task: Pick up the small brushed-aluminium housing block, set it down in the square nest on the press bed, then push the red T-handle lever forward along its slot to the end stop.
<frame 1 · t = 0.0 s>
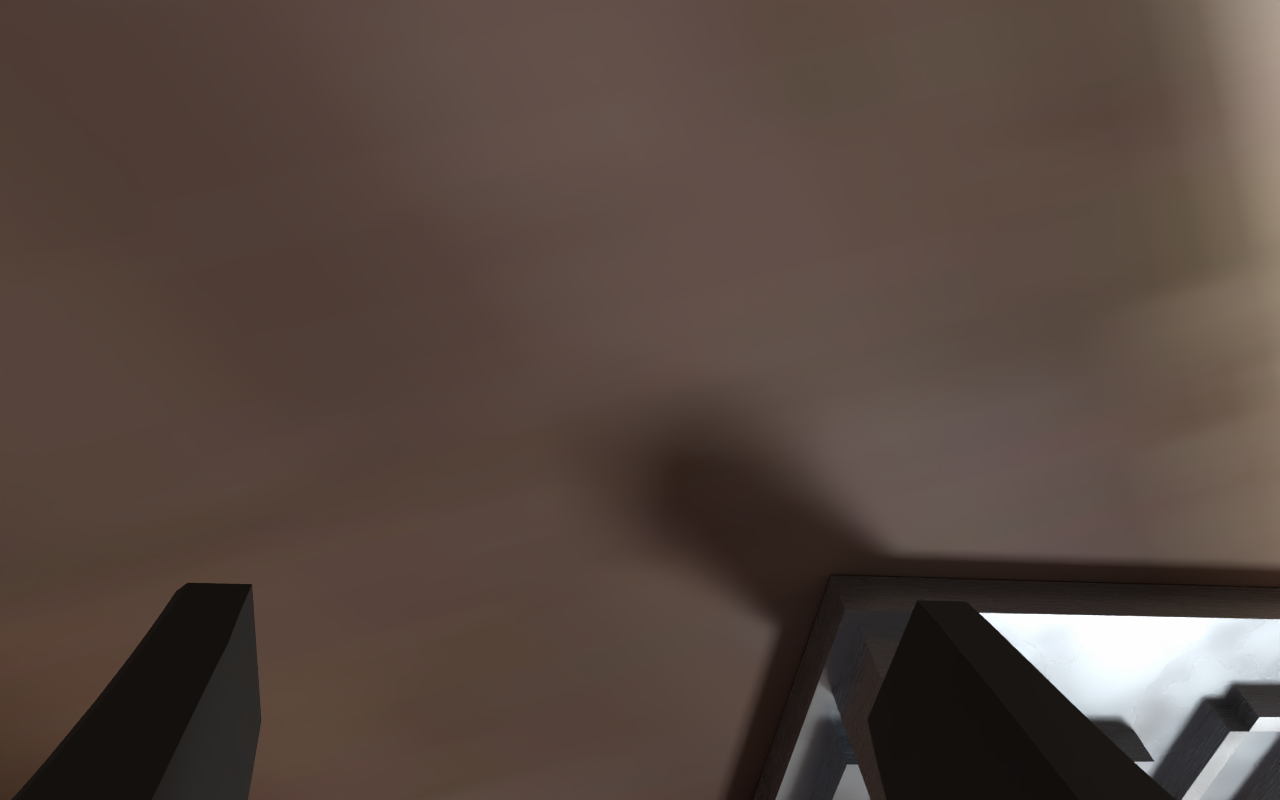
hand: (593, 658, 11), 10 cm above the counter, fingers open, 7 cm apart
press: (1020, 753, 30), on the counter
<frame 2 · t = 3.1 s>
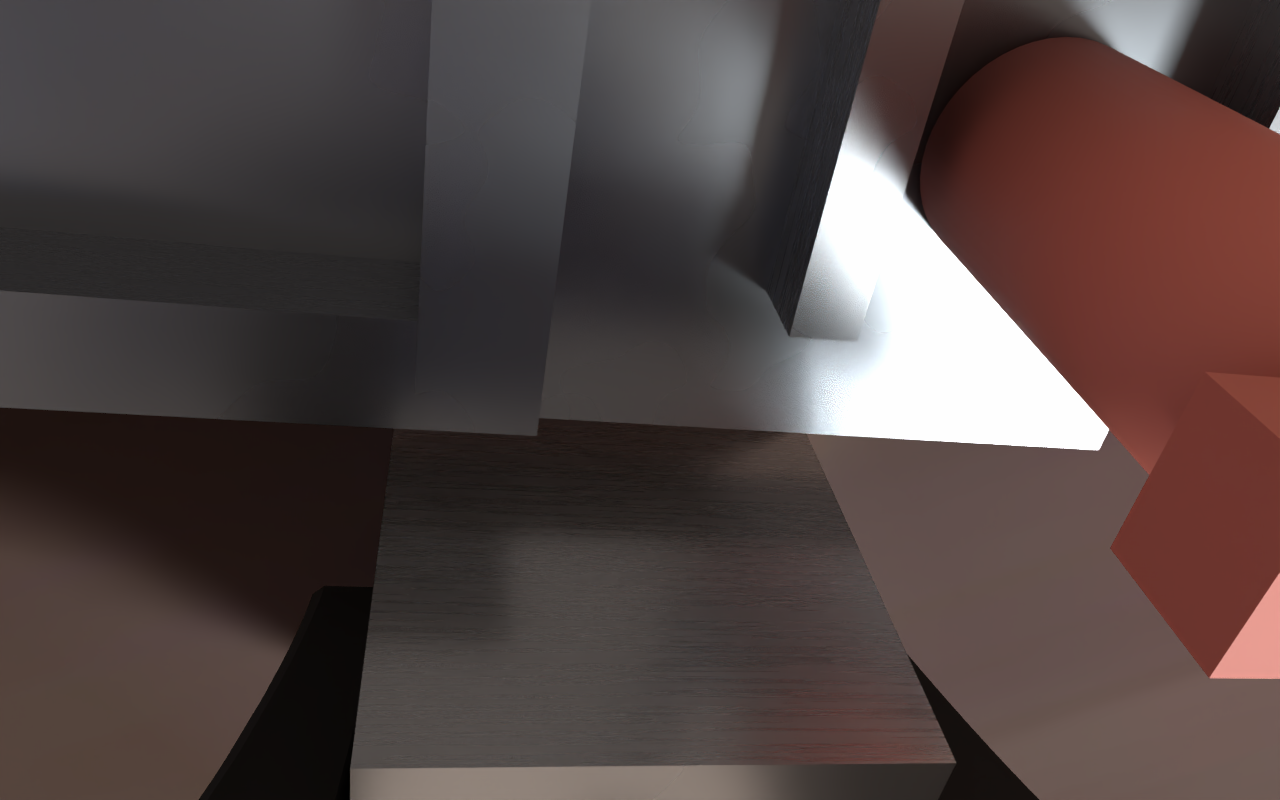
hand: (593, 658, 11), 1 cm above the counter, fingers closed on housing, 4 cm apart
lever: (1221, 304, 6), point 4 cm above the counter, slide at 0.0 cm
housing: (582, 568, 12), on the counter, touching gripper
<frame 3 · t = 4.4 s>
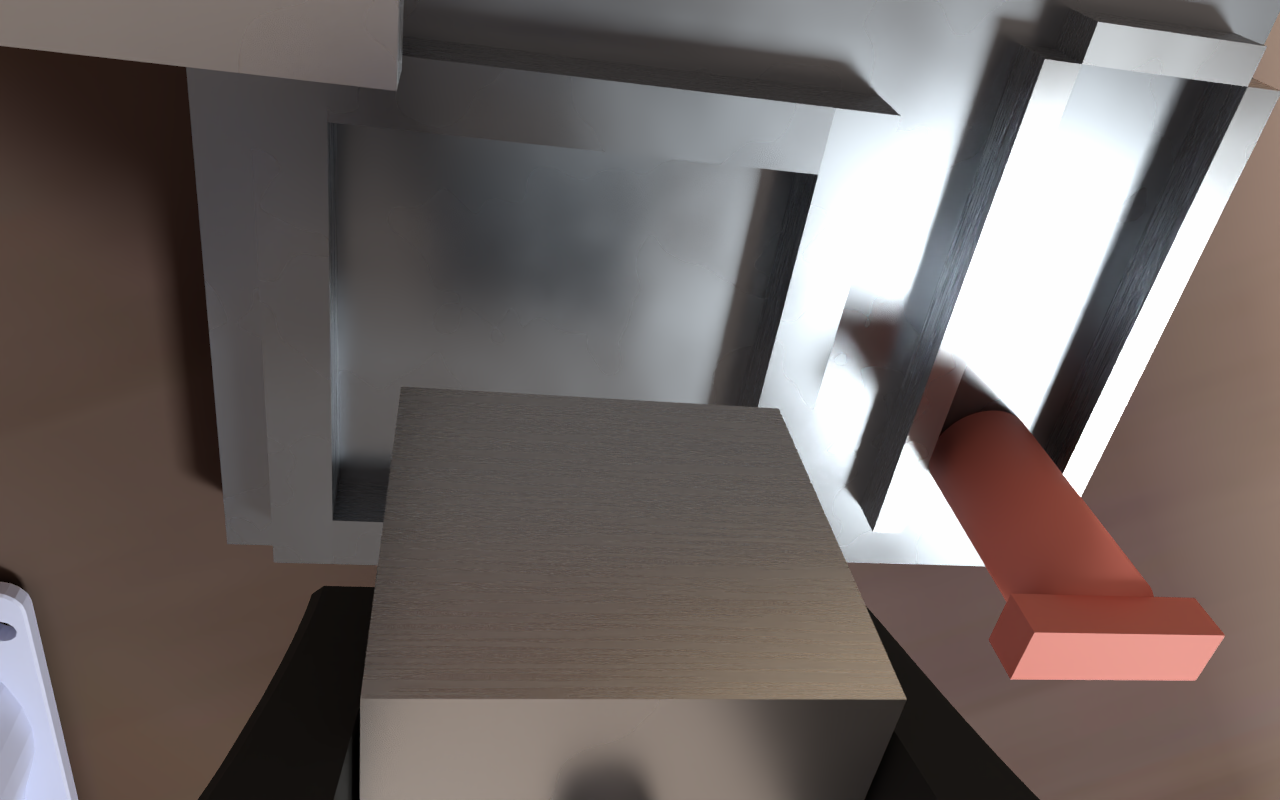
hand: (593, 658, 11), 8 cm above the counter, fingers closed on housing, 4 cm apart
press: (706, 204, 17), on the counter
lever: (1040, 542, 17), point 4 cm above the counter, slide at 0.0 cm
housing: (574, 543, 13), point 6 cm above the counter, touching gripper
when the fingers open (4 cm above the counter, at t = 5.7 s): housing stays where it is, resting on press.
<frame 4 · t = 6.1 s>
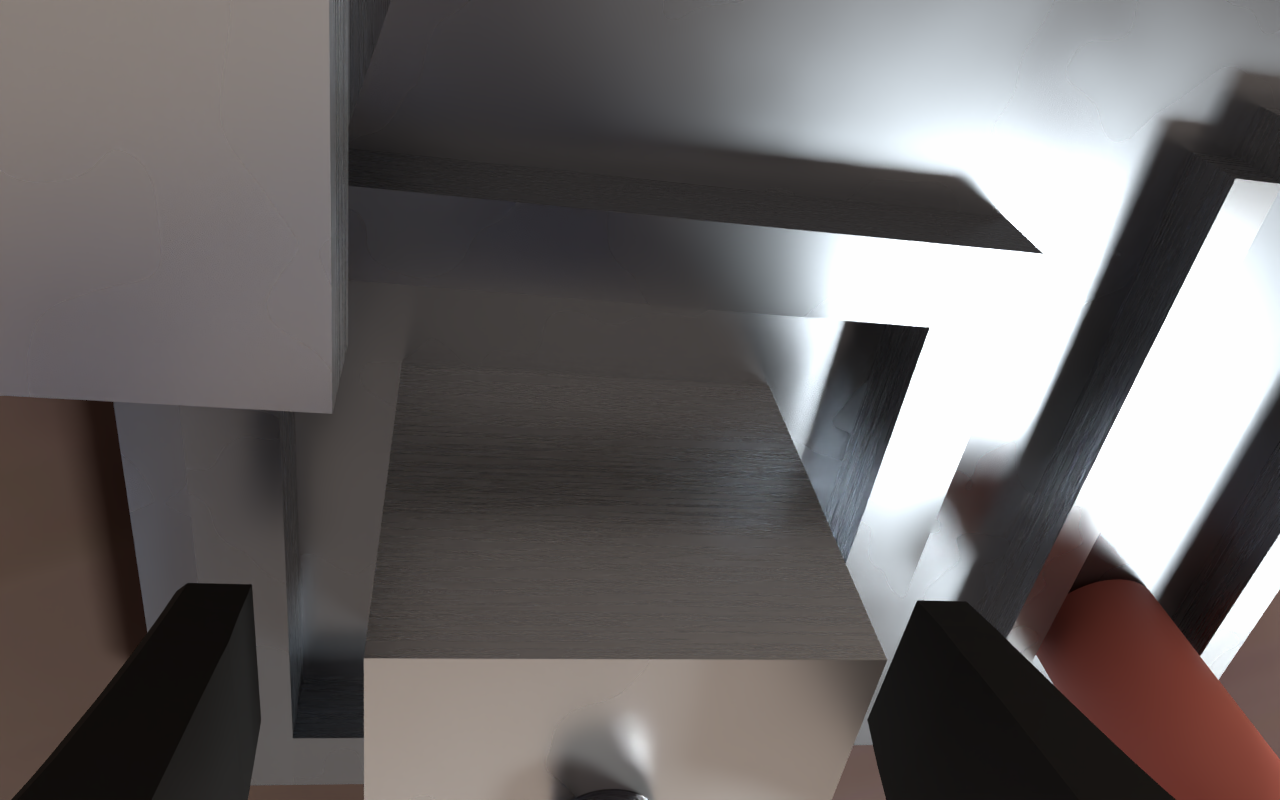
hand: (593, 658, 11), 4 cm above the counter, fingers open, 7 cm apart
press: (768, 338, 14), on the counter
lever: (1189, 766, 14), point 4 cm above the counter, slide at 0.0 cm
housing: (571, 518, 13), point 1 cm above the counter, touching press
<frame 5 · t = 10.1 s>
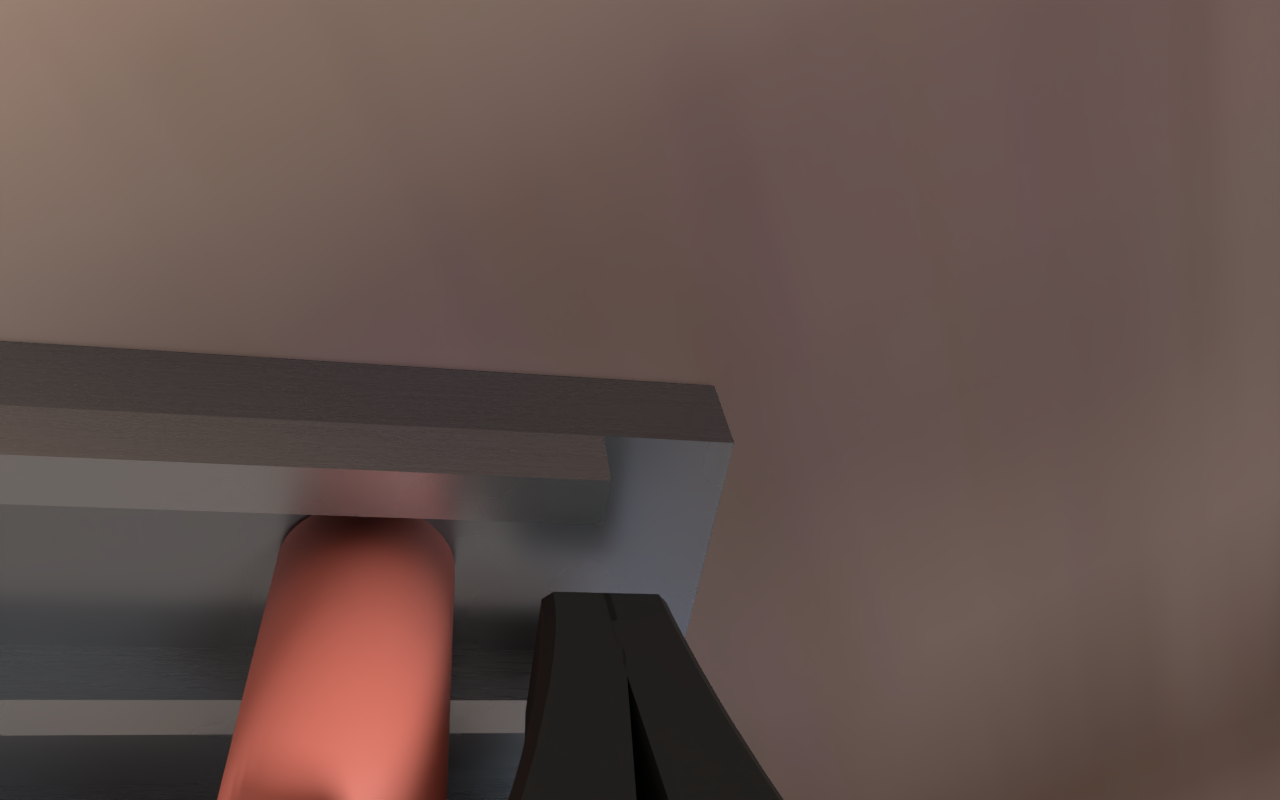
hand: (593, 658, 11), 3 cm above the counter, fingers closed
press: (170, 798, 15), on the counter
lever: (340, 761, 9), point 4 cm above the counter, slide at 1.0 cm, touching gripper
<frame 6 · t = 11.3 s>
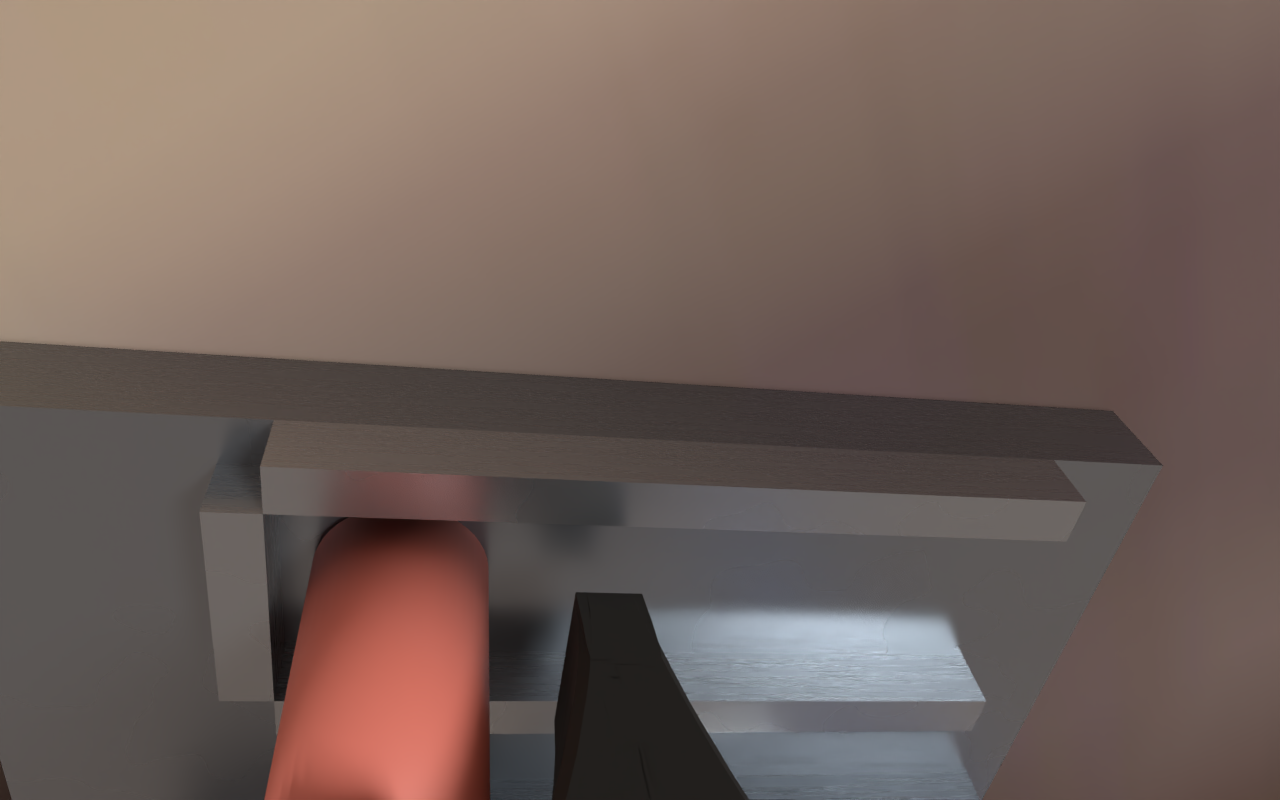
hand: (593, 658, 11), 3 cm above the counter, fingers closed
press: (531, 792, 16), on the counter
lever: (383, 762, 10), point 4 cm above the counter, slide at 6.1 cm, touching gripper
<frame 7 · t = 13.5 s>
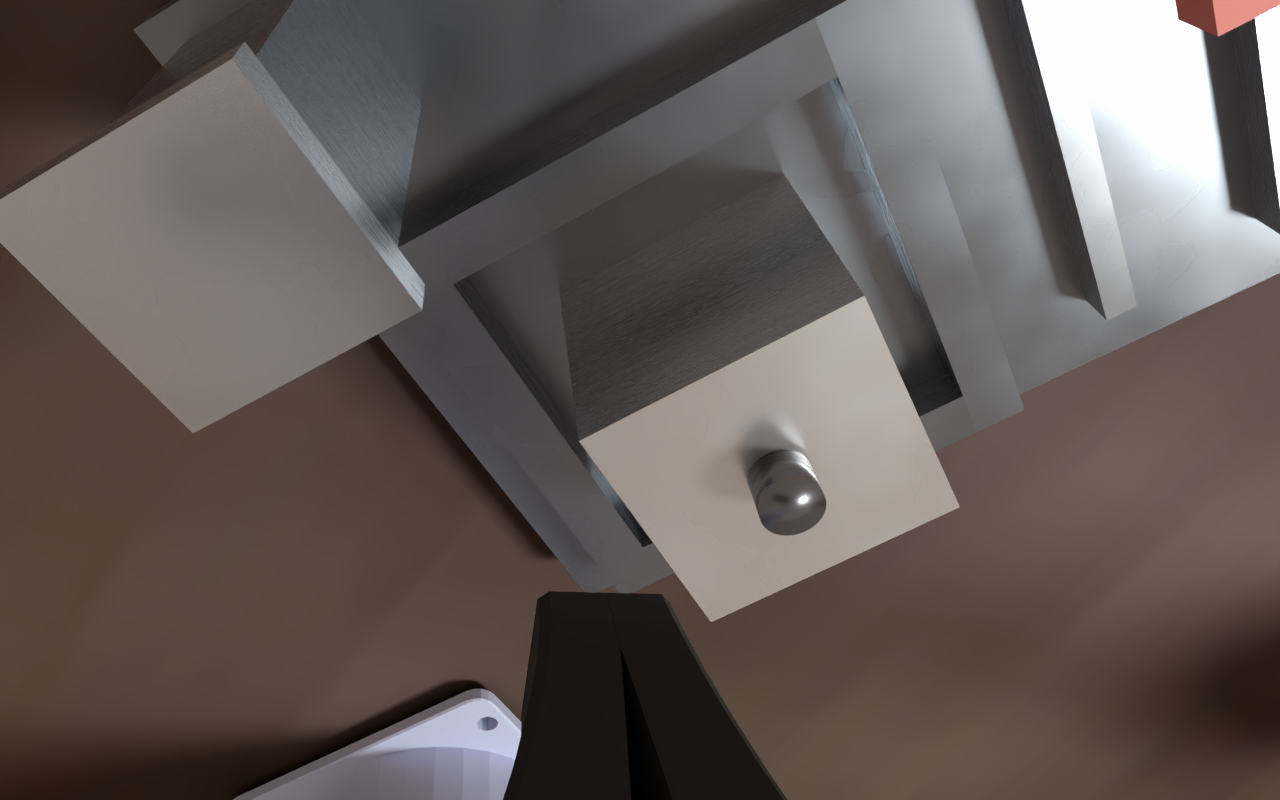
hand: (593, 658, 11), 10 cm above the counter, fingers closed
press: (781, 140, 18), on the counter
housing: (722, 329, 19), point 1 cm above the counter, touching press
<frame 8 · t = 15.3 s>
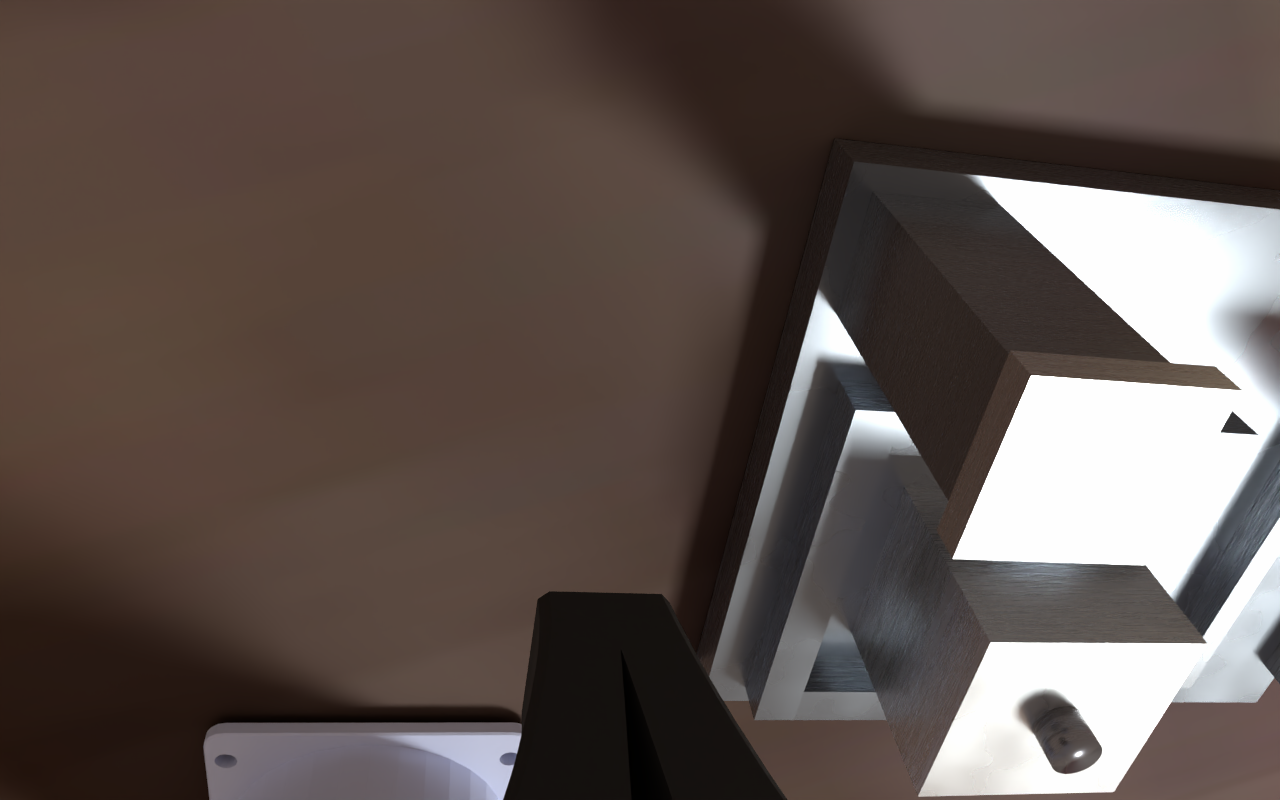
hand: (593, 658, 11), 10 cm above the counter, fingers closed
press: (1076, 462, 24), on the counter
housing: (967, 566, 24), point 1 cm above the counter, touching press
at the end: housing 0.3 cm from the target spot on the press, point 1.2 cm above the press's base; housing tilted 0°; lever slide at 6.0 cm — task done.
